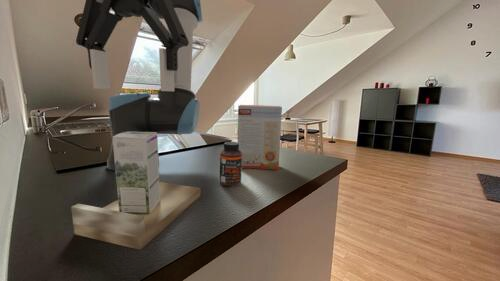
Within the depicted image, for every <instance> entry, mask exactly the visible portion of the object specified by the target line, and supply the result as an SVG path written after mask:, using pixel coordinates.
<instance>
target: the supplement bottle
mask: <svg viewBox="0 0 500 281" xmlns="http://www.w3.org/2000/svg"><path fill="white" fill-rule="evenodd" d="M238 148H239V143H237V142H236V141H226V142H224V143H223V149H222V150H221V151H220V153H219V183H220V184H221V185H222V186H225V187H236V186H238V185H240V184H241V181H242V169H243V168H242V153H241V151H240V150H239V149H238Z"/></svg>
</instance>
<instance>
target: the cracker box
mask: <svg viewBox="0 0 500 281" xmlns="http://www.w3.org/2000/svg"><path fill="white" fill-rule="evenodd" d="M237 110H238V111H237V113H238V114H237V143H239V148H238V149H239V150H240V151H241V153H242V168H241V169H257V170H271V171H272V170H273V171H279V166H280V152H281V151H280V150H281V131H282V130H281V129H282V113H283V108H282V106H280V105H265V104H264V105H263V104H258V105H257V104H239V105H238V109H237Z"/></svg>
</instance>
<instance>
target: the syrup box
mask: <svg viewBox="0 0 500 281" xmlns="http://www.w3.org/2000/svg"><path fill="white" fill-rule="evenodd" d="M112 139H113V150H114V161H115V171H114V172H115V180H116V181H115V182H116V189H117V193H116V194H117V200H118V204H119V212H124V213H132V214H150V213H151V212H152V211H153V210H154V208H155V207H156V206H157V204H158V203H159V202H160V186H159V182H160V172H159V171H160V169H159V168H160V167H159V164H158V156H159V146H158V145H159V143H158V134H157V132H122V133H119V134H117V135H115V136H113V138H112V137H111V140H112Z"/></svg>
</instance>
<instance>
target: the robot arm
mask: <svg viewBox="0 0 500 281" xmlns="http://www.w3.org/2000/svg"><path fill="white" fill-rule="evenodd" d="M201 5H202V4H201V0H85V3H84V6H83V10H82V15H81V19H80V21H79V22H80V24H79V28H78V31H77V35H76V40H75V43H76V44H77V45H78V46H81V47H83V48H86V50H87V53H88V54H87V55H88V66H89V68H90V70H91V74H92V85H93V86H92V87H93V89H99V90H101V89H103V90H110V89H111V83H110V72H109V59H108V52H107V51H106V50H105V49H104V48H105V46H106V44H107V42H108V40H109V39H110V37H111V36H112V33H113V32H114V30H115V29H116V28H115V27H116V26H117V25H118V22H121V21H123V19H124V18H131V17H135V18H140V17H142V19H143V20H144V21H145V22H146V24H147V25H148V27H149V28H150V30H152V32H153V33H154V35H155V36H156V37H157V39H158V40H159V42H161V47H162V48H161V47H159V48H158V53H159V54H158V56H159V58H158V59H159V77H160V80H159V81H160V82H159V83H160V88H159V89H158V92H157V97H153V96H151V94H150V92H136V93H135V92H134V93H124V94H114V95H112V96H110V97H109V99H108V110H107V111H108V114H109V115H108V116H109V125H110V135H111V146H110V150H109V155H108V158H107V160H106V165H107V169H108V170H109V171H112V172H115V161H114V150H113V139H112V138H113V136H115V135H117V134H119V133H122V132H157V135H179V136H181V135H190V134H193V133H194V132H195V131H196V130H197V126H198V121H199V116H200V100H199V99H198V98H196V94H195V92H194V91H192V88H191V87H192V67H193V66H192V65H193V45H194V44H193V41H194V39H193V38H194V30H196V29H197V28H198V23H200V22H201V23H202V22H203V13H202V6H201ZM162 20H163V22H165V24H166V26H167V27H166V26H165V25H164V24H163V22H162ZM159 164H160V156H159V155H158V165H159Z"/></svg>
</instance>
